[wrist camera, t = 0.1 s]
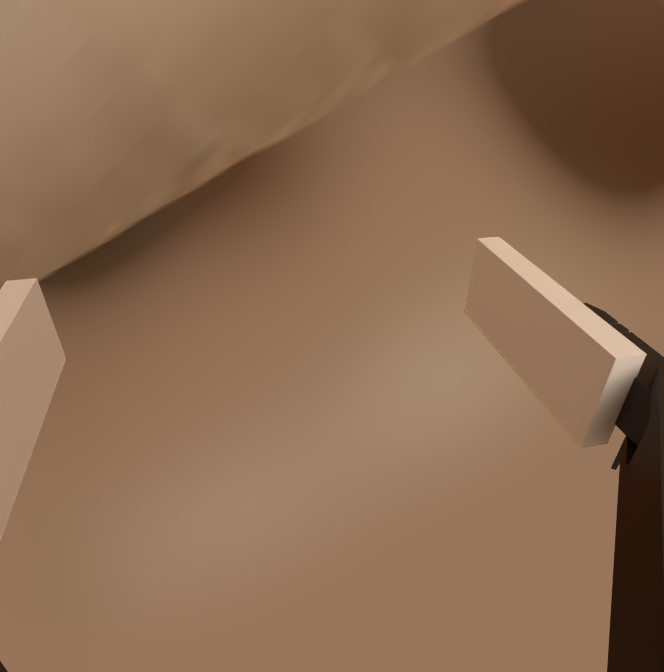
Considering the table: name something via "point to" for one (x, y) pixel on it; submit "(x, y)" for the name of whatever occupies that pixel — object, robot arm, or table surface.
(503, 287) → the robot arm
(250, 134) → the table surface
